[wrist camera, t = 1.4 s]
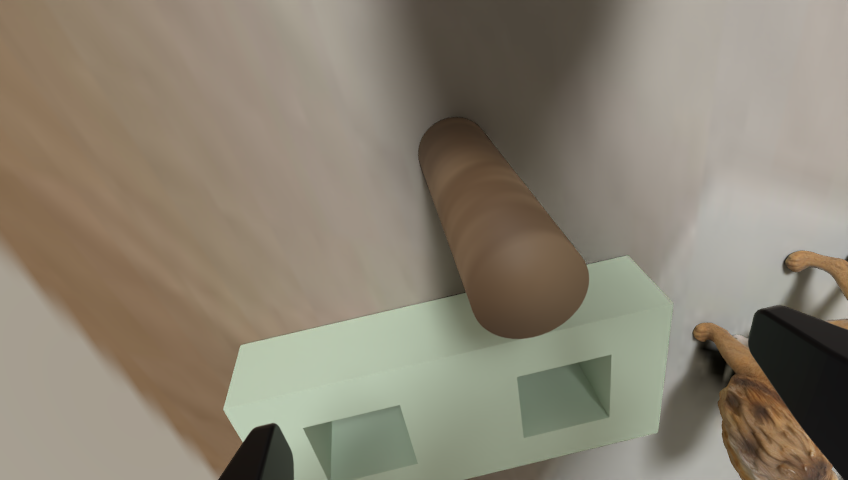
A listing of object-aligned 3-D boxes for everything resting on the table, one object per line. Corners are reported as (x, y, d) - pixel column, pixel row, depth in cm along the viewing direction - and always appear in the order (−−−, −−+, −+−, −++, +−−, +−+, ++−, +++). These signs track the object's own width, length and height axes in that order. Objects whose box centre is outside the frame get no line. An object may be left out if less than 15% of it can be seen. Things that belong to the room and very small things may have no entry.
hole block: (627, 255, 25) (673, 303, 21) (621, 376, 29) (657, 432, 26) (240, 345, 24) (223, 409, 21) (297, 454, 29) (290, 521, 25)
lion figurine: (694, 396, 31) (807, 539, 24) (642, 369, 29) (748, 516, 22) (901, 226, 26) (1130, 337, 19) (856, 178, 24) (1094, 281, 17)
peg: (483, 110, 20) (589, 227, 11) (491, 176, 21) (589, 324, 13) (411, 125, 20) (463, 256, 11) (425, 191, 21) (478, 349, 13)
